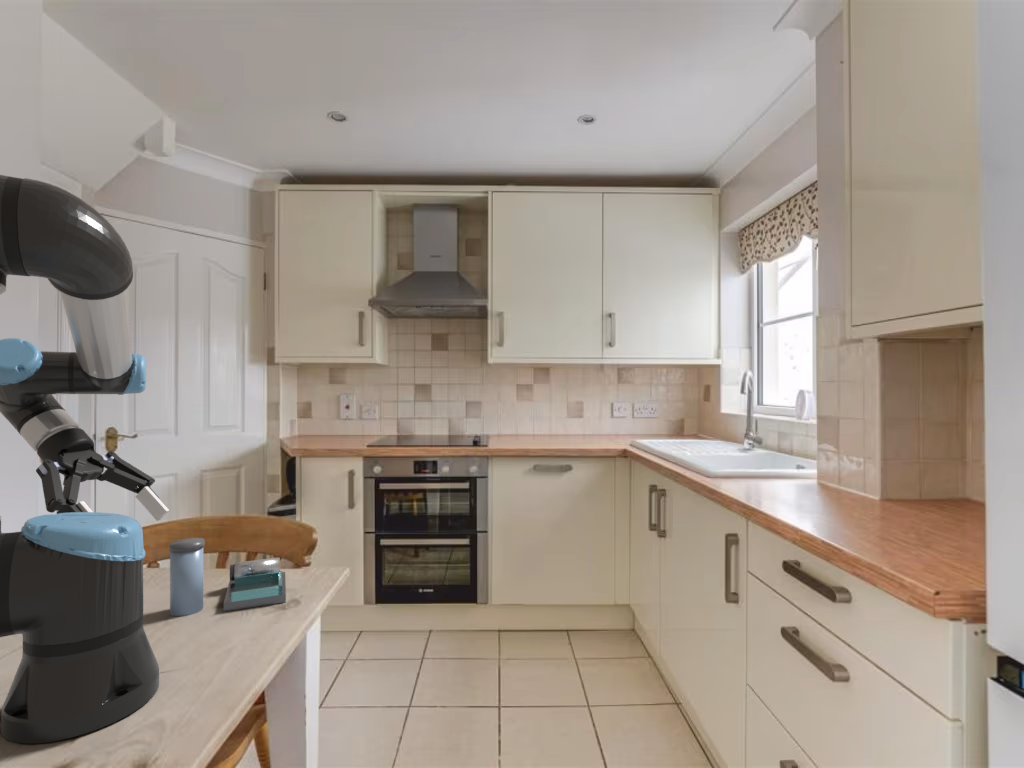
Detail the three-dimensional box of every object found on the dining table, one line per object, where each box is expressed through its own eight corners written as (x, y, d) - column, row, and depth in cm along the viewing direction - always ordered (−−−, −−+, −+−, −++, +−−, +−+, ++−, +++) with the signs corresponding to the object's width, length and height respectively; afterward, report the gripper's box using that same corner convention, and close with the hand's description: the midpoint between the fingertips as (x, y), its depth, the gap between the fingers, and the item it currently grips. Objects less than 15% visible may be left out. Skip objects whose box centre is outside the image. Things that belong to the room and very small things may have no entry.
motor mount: (285, 602, 96) (285, 574, 96) (223, 611, 92) (223, 582, 92) (285, 579, 108) (285, 554, 108) (230, 586, 104) (230, 560, 104)
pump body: (202, 613, 91) (202, 544, 91) (165, 619, 89) (166, 548, 89) (206, 602, 96) (206, 536, 96) (171, 607, 94) (171, 539, 94)
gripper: (105, 447, 109) (172, 521, 107) (-31, 464, 84) (53, 561, 82) (129, 421, 108) (197, 496, 106) (-1, 431, 83) (84, 528, 81)
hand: (134, 525), depth 94 cm, fingers open, 13 cm apart
